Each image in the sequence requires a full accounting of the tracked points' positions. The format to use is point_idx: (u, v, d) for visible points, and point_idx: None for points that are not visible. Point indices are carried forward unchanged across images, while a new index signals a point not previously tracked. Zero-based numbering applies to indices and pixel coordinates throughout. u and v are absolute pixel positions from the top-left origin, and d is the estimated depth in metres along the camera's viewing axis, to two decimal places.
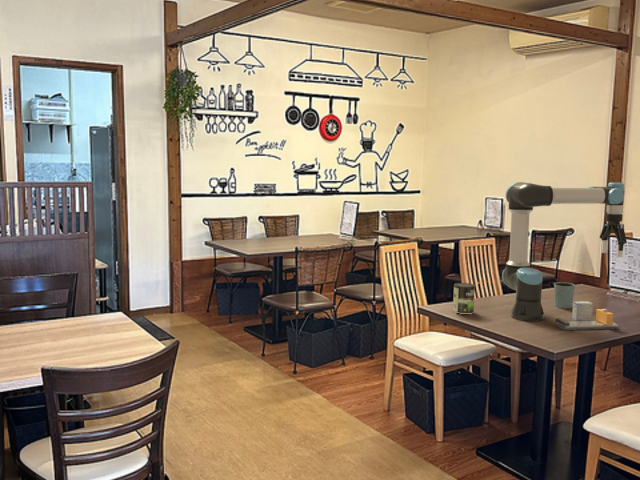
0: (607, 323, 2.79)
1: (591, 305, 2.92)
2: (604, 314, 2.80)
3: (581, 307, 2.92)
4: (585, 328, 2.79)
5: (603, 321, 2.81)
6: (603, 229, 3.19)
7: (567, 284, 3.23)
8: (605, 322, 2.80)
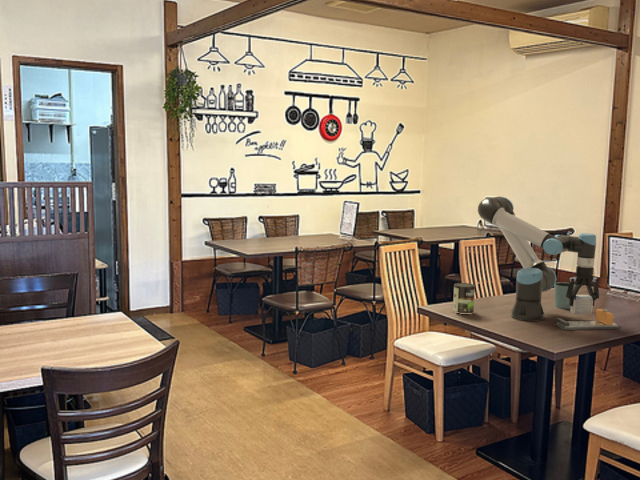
0: (607, 323, 2.79)
1: (590, 298, 2.92)
2: (604, 314, 2.80)
3: (581, 301, 2.92)
4: (585, 328, 2.79)
5: (603, 321, 2.81)
6: (593, 286, 2.95)
7: (567, 284, 3.23)
8: (605, 322, 2.80)
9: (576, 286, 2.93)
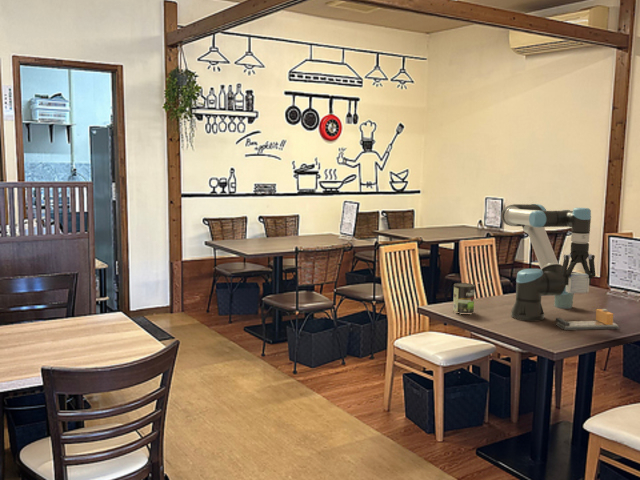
0: (607, 323, 2.79)
1: (586, 276, 2.77)
2: (604, 314, 2.80)
3: (576, 279, 2.77)
4: (585, 328, 2.79)
5: (603, 321, 2.81)
6: (589, 263, 2.80)
7: None
8: (605, 322, 2.80)
9: (571, 264, 2.78)
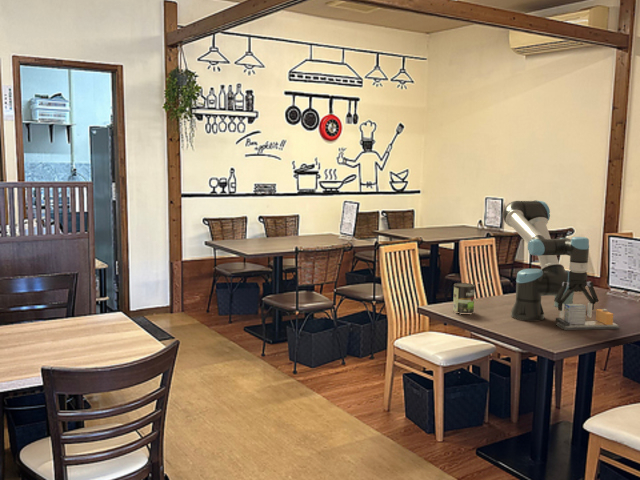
0: (607, 323, 2.79)
1: (584, 308, 2.79)
2: (604, 314, 2.80)
3: (574, 310, 2.79)
4: (585, 328, 2.79)
5: (603, 321, 2.81)
6: None
7: None
8: (605, 322, 2.80)
9: (568, 291, 2.80)
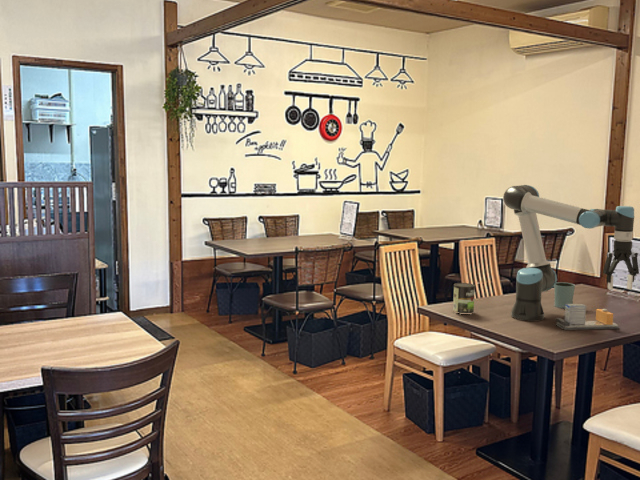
0: (607, 323, 2.79)
1: (584, 308, 2.79)
2: (604, 314, 2.80)
3: (574, 310, 2.79)
4: (585, 328, 2.79)
5: (603, 321, 2.81)
6: (632, 261, 2.82)
7: (567, 284, 3.23)
8: (605, 322, 2.80)
9: (614, 261, 2.80)
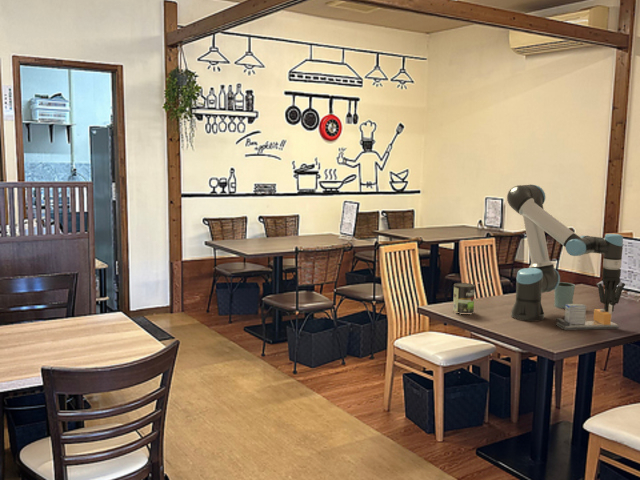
0: (605, 323, 2.79)
1: (584, 308, 2.79)
2: (602, 314, 2.80)
3: (574, 310, 2.79)
4: (585, 328, 2.79)
5: (601, 321, 2.81)
6: (616, 290, 2.83)
7: (567, 284, 3.23)
8: (603, 322, 2.79)
9: (606, 290, 2.82)
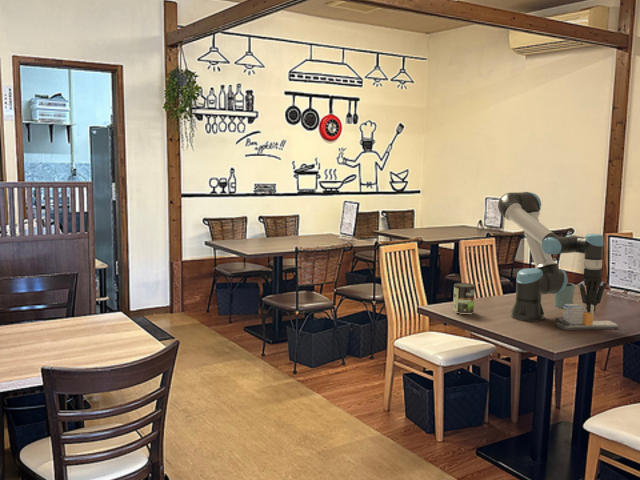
0: (587, 323, 2.78)
1: (582, 308, 2.79)
2: (584, 314, 2.79)
3: (573, 310, 2.79)
4: (585, 328, 2.79)
5: (583, 321, 2.80)
6: (598, 290, 2.83)
7: (567, 284, 3.23)
8: (585, 322, 2.79)
9: (588, 290, 2.81)
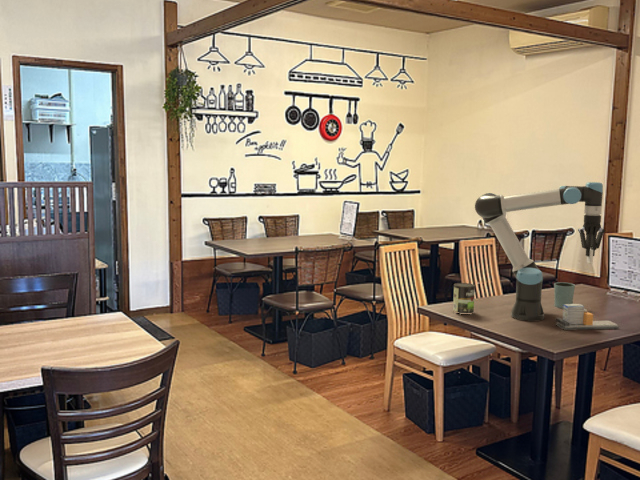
0: (587, 323, 2.78)
1: (582, 308, 2.79)
2: (584, 314, 2.79)
3: (573, 310, 2.79)
4: (585, 328, 2.79)
5: (583, 321, 2.80)
6: (597, 236, 2.99)
7: (567, 284, 3.23)
8: (585, 322, 2.79)
9: (587, 236, 2.97)
